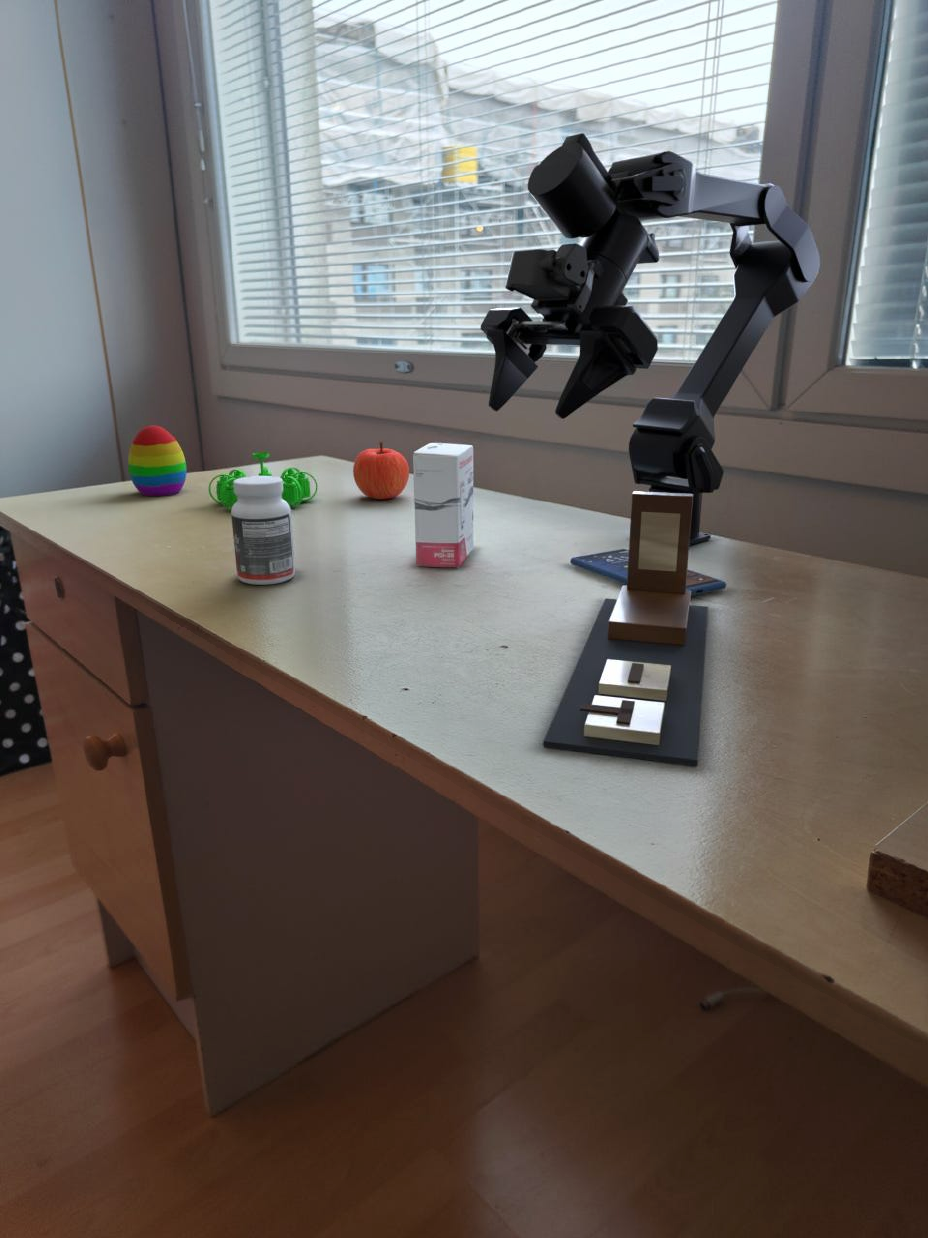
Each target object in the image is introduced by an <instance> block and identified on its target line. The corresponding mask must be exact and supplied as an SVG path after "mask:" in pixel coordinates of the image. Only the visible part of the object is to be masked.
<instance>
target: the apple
mask: <svg viewBox="0 0 928 1238" xmlns="http://www.w3.org/2000/svg"><path fill="white" fill-rule="evenodd" d="M383 444H384V443H383V442H382V441H379V448H366V449H363V450H361V452H359V454H357V456H356V458H355V460H354V463H353V466H352V475H353V479H354V482H355V485H356V486H357V488H358V490H359V491H360V492H361V493H362V494H363V495H364V496H365V497H368V498H372V499H374V500H387V499H393V498H396V497H398V496H399V495H400V494H401V493H402V492H403V491H404V490H405V488H406V487H407V484H408V481H409V477H410V468H409V464H408V462H407V459H406V458H405V456H404V455H402V453H400V452H399V451H397V450H394V449H391V448H386V447H383Z"/></svg>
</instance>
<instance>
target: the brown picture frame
mask: <svg viewBox="0 0 928 1238" xmlns="http://www.w3.org/2000/svg"><path fill="white" fill-rule="evenodd" d="M692 506H693V494H684V493H662V492H649V491H637V490H634V491H633V492H632V494H631V506H630V524H629V525H630V526H629V540H628V541H629V542H628V543H629V544H628V550H629V558H628V575H627V585H622V586H621V588H620V591H619V594H618V596H617V601H616V604H615V606H614V609H613V611H612V614H611V616H610V619H609V622H608V639H617V640H628V641H639V642H650V643H661V644H672V645H683V646H684V645H685V642H686V635H687V627H688V619H689V612H690V605H691V602H692V596H691V591H689V590H686V580H687V569H688V566H689V555H690V554H689V553H690V545H689V543H690V531H691V518H692Z"/></svg>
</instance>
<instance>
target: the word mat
mask: <svg viewBox="0 0 928 1238" xmlns="http://www.w3.org/2000/svg"><path fill="white" fill-rule="evenodd" d="M617 599H618V598H617ZM617 599H616V598H605V599H604V601H603V604H602V606H601V607H600V611H599V613H598V615H597V617H596V619H595V622H594V624H593V626H592V628H591V631H590V633H589V636H588V637H587V640H586V642H585V645H584V647H583V650H582V652H581V654H580V656H579V659H578V661H577V663H576V666H575V668H574V670H573V672H572V674H571V677H570V680H569V682H568V684H567V686H566V688H565V691H564V693H563V696H562V698H561V700H560V702H559V705H558V707H557V709H556V712H555V714H554V716H553V718H552V721H551V723H550V725H549V727H548V729H547V732H546V735H545V737H544V739H543V743H542V744H543V745H542V746H543V747H545V748H551V749H559V750H565V751H566V750H567V751H575V752H583V753H590V754H599V755H605V756H606V755H607V756H613V757H614V756H615V757H622V758H631V759H637V760H646V761H654V762H661V763H669V764H676V765H677V764H678V765H684V766H685V765H687V766H693V767H697V766H698V758H699V757H698V756H699V743H700V742H699V741H700V728H701V727H700V726H701V716H702V715H701V713H702V712H701V711H702V699H703V685H704V684H703V682H704V671H705V653H706V641H707V640H706V639H707V625H708V612H709V611H708V610H709V606H708V605H695V604H694V605H693V604H690V612H689V619H688V627H687V635H686V642H685V645H684V646H683V645H672V644H661V643H650V642H639V641H628V640H617V639H608V622H609V619H610V616H611V614H612V611H613V609H614V606H615V604H616V601H617Z"/></svg>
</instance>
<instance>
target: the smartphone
mask: <svg viewBox="0 0 928 1238" xmlns="http://www.w3.org/2000/svg"><path fill="white" fill-rule="evenodd" d="M628 558H629V549H626V548H620V549H613V550H608V551H603V552H597V553H592V554H591V553H590V554H584V555H579V556H573V557H571V558H570V564H571V565H572V566H576V567H578V568H581V569H583V570H586V571H589V572H592V573H594V574H596V575H600V576H602V577H604V578H608V579H610V580H613V581H615V582H618V583H620V584H623V585H625V586H627V575H628ZM726 587H727V583H726V581H724V580H722V579H719V578H716V577H713V576H709V575H707V574H703V573H700V572H697V571H694V570H690V569H688V568H687V580H686V590H689V591H691V597H692V596H697V595H702V594H706V593H711V592H715V591H720V590H721V591H722V590H724V589H725V588H726Z"/></svg>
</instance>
